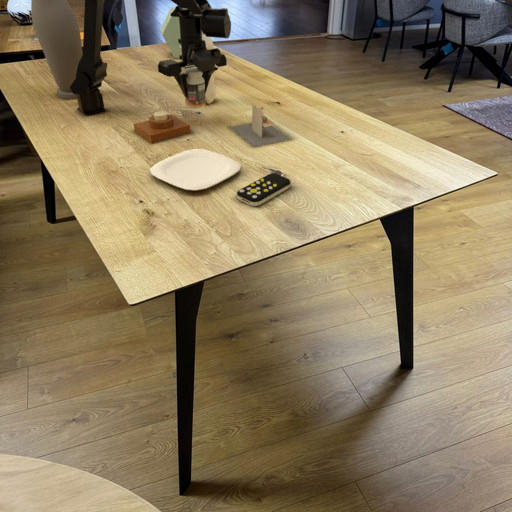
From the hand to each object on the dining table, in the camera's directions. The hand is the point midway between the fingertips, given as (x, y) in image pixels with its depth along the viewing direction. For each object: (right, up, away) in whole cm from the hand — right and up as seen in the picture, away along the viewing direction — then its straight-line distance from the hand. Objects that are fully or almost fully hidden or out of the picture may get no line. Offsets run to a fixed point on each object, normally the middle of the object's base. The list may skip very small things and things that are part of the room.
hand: (195, 95), depth 135 cm
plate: (+3, -26, -22) cm, 34 cm away
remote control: (+19, -32, -29) cm, 47 cm away
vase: (-44, +8, +24) cm, 51 cm away
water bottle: (+1, +4, +18) cm, 19 cm away
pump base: (-9, -11, -2) cm, 14 cm away
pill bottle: (0, -3, +2) cm, 3 cm away
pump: (-9, -8, -4) cm, 13 cm away
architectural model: (+18, -12, -2) cm, 22 cm away
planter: (-11, +38, +63) cm, 75 cm away
